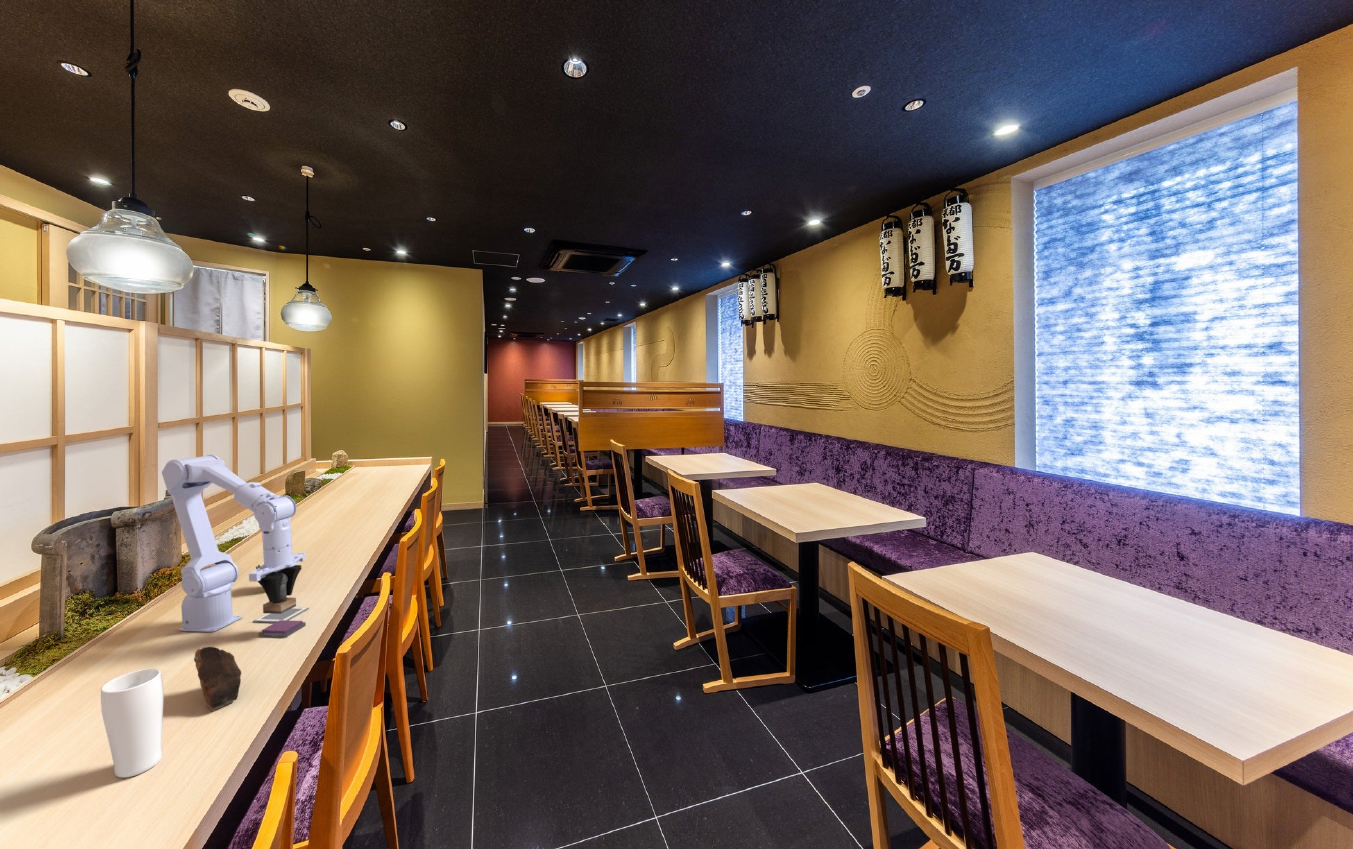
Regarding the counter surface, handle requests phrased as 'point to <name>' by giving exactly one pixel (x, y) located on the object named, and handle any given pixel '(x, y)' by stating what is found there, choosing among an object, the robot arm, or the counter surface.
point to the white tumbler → (134, 720)
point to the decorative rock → (217, 676)
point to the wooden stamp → (284, 601)
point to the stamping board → (281, 615)
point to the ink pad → (282, 628)
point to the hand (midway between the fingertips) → (280, 598)
